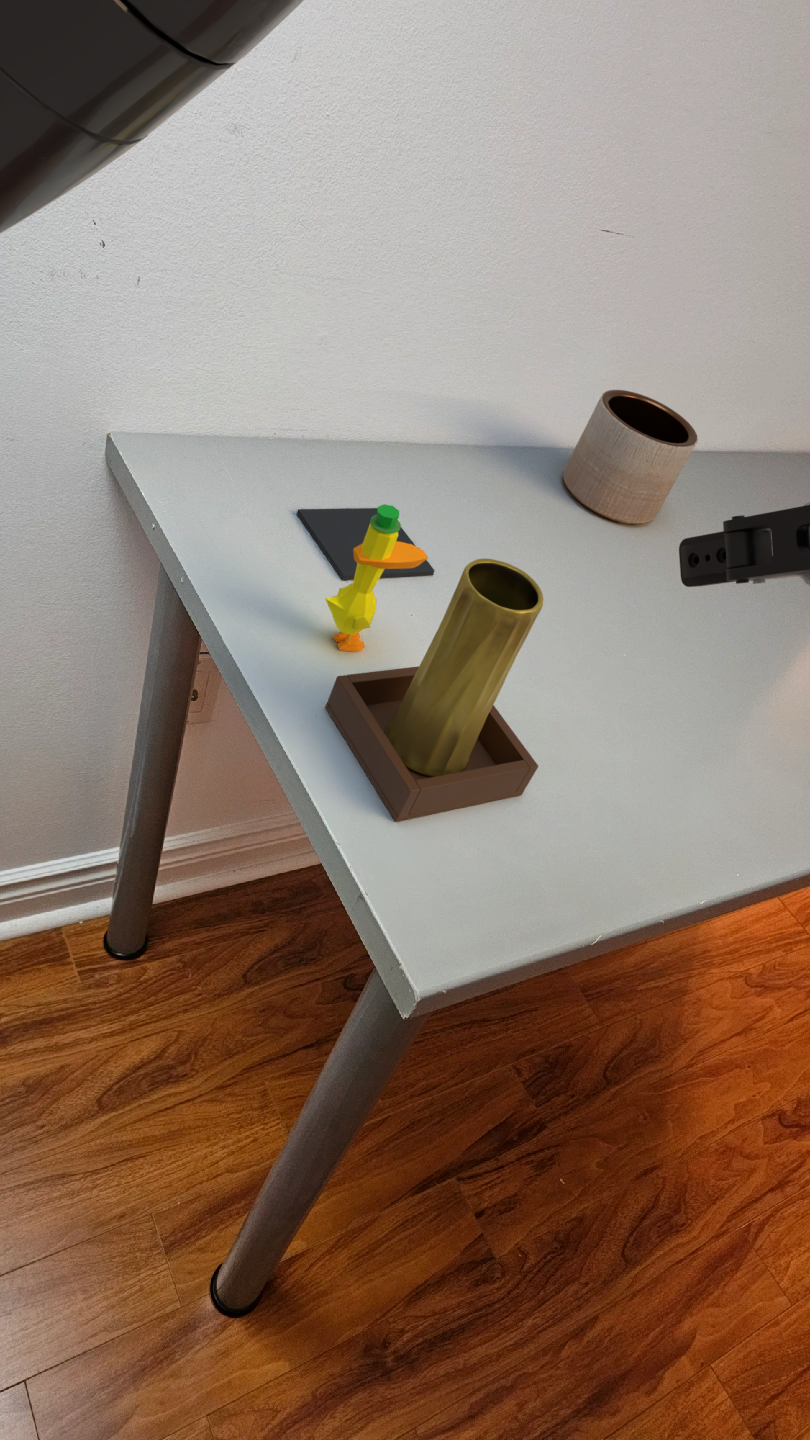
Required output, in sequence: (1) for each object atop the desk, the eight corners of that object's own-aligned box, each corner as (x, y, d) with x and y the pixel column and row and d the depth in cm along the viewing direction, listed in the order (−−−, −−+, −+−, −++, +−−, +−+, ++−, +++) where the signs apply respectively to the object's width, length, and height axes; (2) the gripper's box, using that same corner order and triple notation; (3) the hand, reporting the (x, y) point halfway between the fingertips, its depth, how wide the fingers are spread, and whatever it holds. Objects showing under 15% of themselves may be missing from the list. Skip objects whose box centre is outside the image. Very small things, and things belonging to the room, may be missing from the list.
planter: (599, 529, 106) (643, 446, 100) (541, 467, 112) (580, 385, 106) (673, 527, 112) (719, 448, 106) (615, 468, 118) (655, 391, 112)
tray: (395, 822, 68) (410, 791, 66) (324, 707, 73) (336, 675, 71) (521, 795, 73) (539, 766, 71) (447, 690, 79) (461, 660, 77)
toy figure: (381, 627, 82) (433, 498, 74) (398, 658, 80) (453, 529, 72) (301, 628, 79) (347, 493, 71) (317, 660, 77) (366, 525, 69)
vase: (408, 784, 70) (488, 619, 61) (369, 719, 73) (440, 553, 64) (482, 773, 73) (569, 615, 64) (442, 710, 76) (519, 552, 67)
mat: (342, 580, 85) (344, 575, 85) (296, 513, 90) (297, 508, 89) (433, 575, 90) (435, 570, 90) (384, 512, 95) (386, 507, 94)
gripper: (1204, 407, 41) (834, 485, 54) (1006, 381, 33) (633, 480, 47) (1212, 603, 41) (842, 631, 55) (1018, 621, 33) (645, 649, 47)
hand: (746, 561), depth 51 cm, fingers open, 8 cm apart
